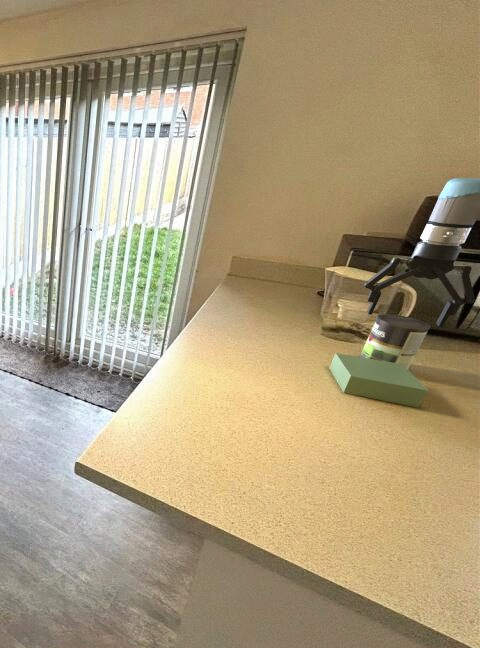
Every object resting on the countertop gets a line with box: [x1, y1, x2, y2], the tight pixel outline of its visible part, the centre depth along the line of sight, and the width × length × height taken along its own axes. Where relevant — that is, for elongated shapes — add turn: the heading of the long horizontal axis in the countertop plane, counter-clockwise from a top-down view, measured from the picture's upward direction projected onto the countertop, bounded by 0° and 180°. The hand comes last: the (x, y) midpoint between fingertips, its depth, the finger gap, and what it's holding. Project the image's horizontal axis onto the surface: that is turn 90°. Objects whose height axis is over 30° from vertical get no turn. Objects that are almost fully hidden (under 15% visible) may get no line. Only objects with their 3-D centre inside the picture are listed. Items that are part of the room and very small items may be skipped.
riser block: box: [328, 352, 428, 408], centre depth 103 cm, size 14×14×5 cm
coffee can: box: [359, 313, 431, 370], centre depth 111 cm, size 10×10×14 cm
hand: (403, 319), depth 108 cm, fingers open, 13 cm apart
